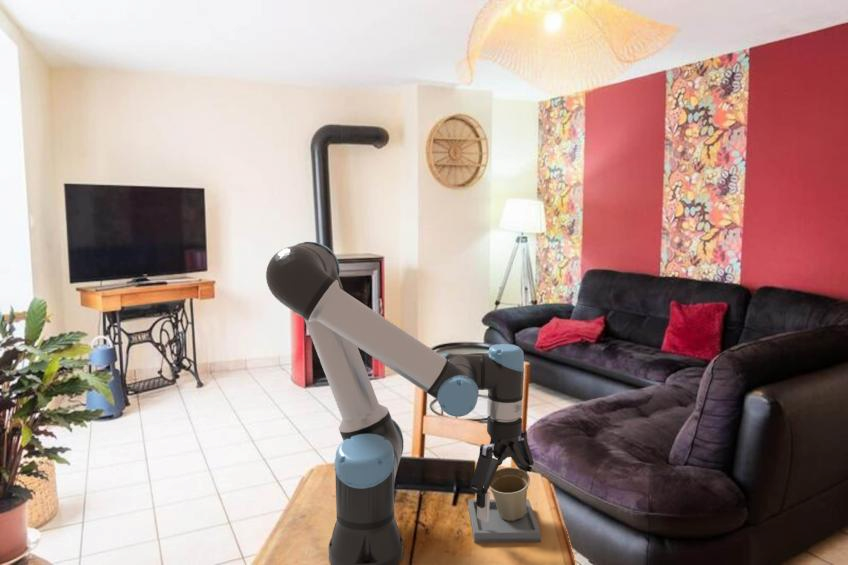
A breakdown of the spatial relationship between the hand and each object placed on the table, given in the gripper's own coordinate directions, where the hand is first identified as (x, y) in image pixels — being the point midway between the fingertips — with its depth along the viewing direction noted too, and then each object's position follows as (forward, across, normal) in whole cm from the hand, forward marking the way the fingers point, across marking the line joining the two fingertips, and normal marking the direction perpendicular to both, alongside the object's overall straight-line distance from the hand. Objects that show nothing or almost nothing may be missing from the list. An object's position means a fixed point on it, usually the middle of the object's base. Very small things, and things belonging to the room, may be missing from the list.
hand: (502, 508), depth 135 cm
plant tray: (+4, 0, 0) cm, 4 cm away
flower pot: (+2, +4, 0) cm, 4 cm away
